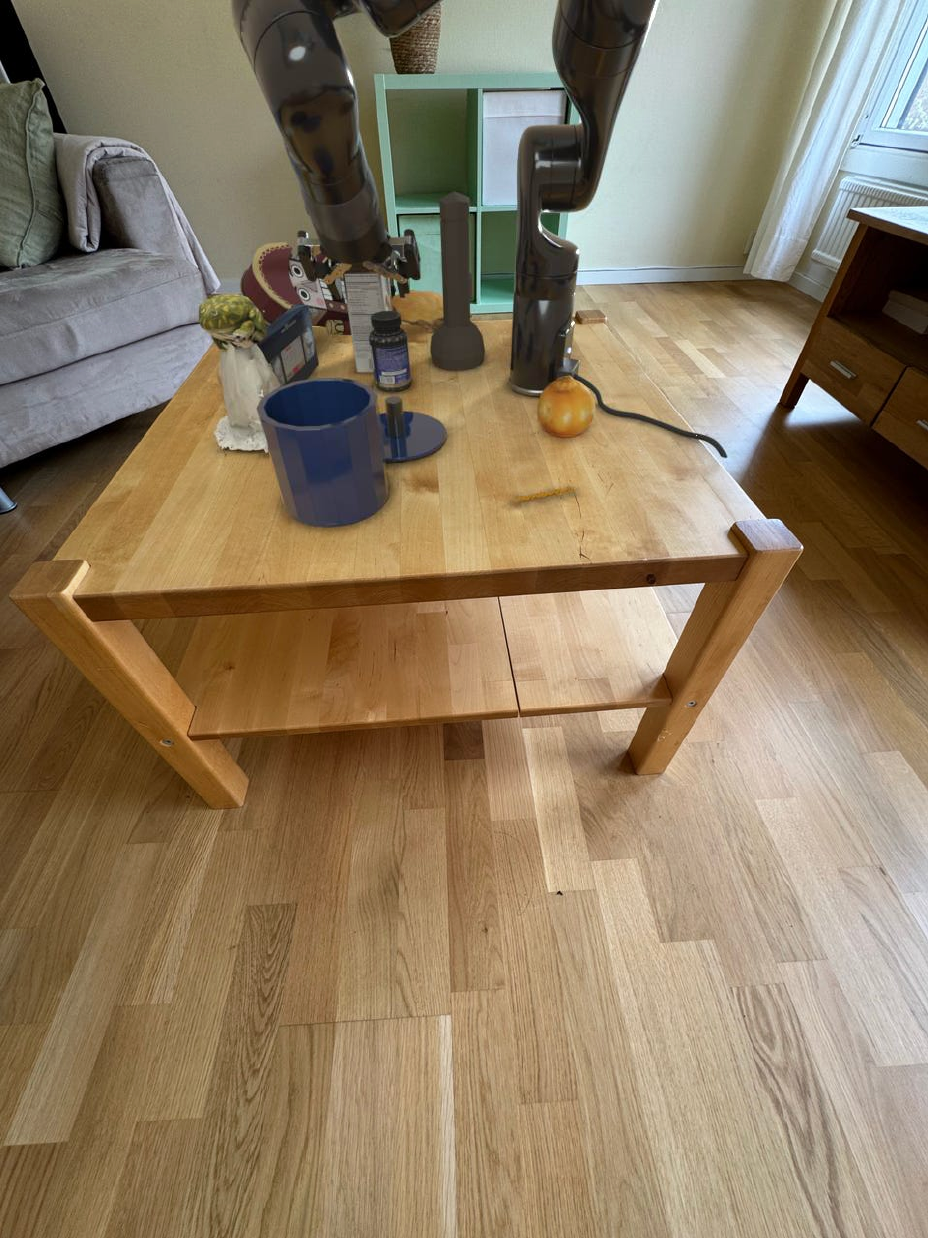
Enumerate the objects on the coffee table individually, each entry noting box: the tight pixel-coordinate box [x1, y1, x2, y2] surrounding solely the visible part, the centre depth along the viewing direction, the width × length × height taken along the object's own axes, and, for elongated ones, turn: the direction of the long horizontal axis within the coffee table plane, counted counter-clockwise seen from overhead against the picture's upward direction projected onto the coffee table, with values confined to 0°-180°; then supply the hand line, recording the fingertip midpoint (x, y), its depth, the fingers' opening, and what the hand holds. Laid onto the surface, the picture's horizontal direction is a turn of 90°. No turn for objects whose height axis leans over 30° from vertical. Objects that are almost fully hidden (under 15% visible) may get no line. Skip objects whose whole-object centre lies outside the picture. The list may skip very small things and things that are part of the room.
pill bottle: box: [369, 310, 412, 393], centre depth 93 cm, size 6×6×11 cm
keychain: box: [514, 486, 573, 503], centre depth 72 cm, size 8×1×1 cm, turn 109°
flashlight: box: [429, 190, 486, 371], centre depth 95 cm, size 10×25×10 cm
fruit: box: [536, 376, 596, 438], centre depth 82 cm, size 8×8×8 cm
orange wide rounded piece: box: [392, 289, 474, 334], centre depth 113 cm, size 17×4×10 cm
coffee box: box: [343, 263, 394, 373], centre depth 98 cm, size 9×6×16 cm
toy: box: [239, 241, 397, 336], centre depth 102 cm, size 14×13×30 cm
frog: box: [197, 293, 280, 454], centre depth 78 cm, size 12×13×18 cm
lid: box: [379, 395, 447, 463], centre depth 81 cm, size 14×14×6 cm
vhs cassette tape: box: [257, 304, 320, 387], centre depth 93 cm, size 18×3×10 cm, turn 167°
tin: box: [257, 377, 389, 528], centre depth 68 cm, size 13×13×12 cm
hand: (371, 291), depth 76 cm, fingers open, 8 cm apart
